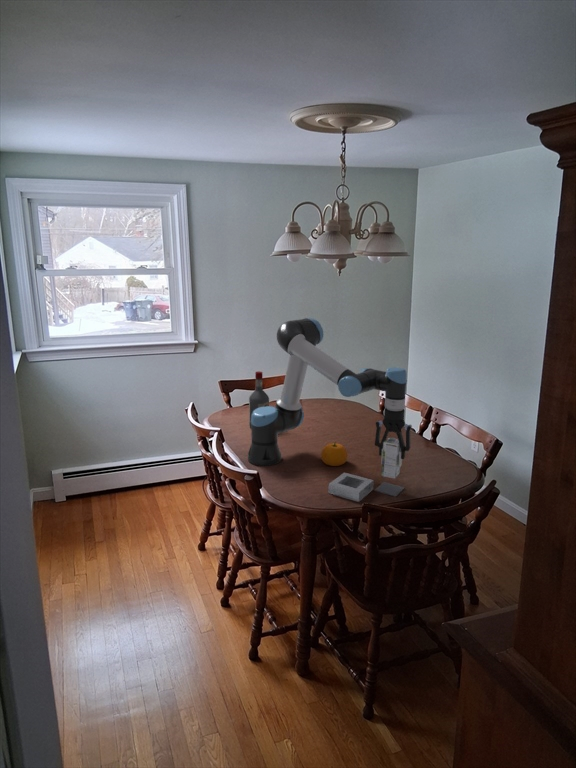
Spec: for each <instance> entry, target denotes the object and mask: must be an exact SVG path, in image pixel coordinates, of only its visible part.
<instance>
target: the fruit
mask: <svg viewBox="0 0 576 768" xmlns="http://www.w3.org/2000/svg"><path fill="white" fill-rule="evenodd" d="M347 451H348V450H347V449H346V448H345V447H344V446H343V445H342V444H340V443H336V441H334V442H333V443H328V444H326V445H325V446H324V447H323V449H322V450H321V453H320V456H321V460H322V462H323V463H324V464H325V465H327V466H332V467H339V466H341V465H343V464H345V463H346V461H347V460H348V457H349V455H348V452H347Z"/></svg>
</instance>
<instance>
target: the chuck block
mask: <svg viewBox="0 0 576 768" xmlns="http://www.w3.org/2000/svg"><path fill="white" fill-rule="evenodd" d="M374 482H375V481H374V479H370V478H366V477H363V476H359V475H356V474H355V475H354V474H351V473H347V472H343V473H341V474H340V475H339V476H338V477H336V478H334V479H333V480H331V482H329V483H328V494H329V495H332V494H333V496H337V497H339V498H344V499H347V500H350V501H353V502H356V503H357V502H358V503H360V501H362V500H363V499H364V498H365V497H366V496H368V494H369V493H371V492H372V491H373V490H374Z"/></svg>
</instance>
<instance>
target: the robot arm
mask: <svg viewBox="0 0 576 768" xmlns="http://www.w3.org/2000/svg"><path fill="white" fill-rule="evenodd" d="M323 339H324V329H323V327H322V325H321V323H320V322H319V321H318V320H316V319H314V318H311V317H310V318H306V317H305V318H302V319H294V320H288V321H287V320H286V321H285V322H283V323H282V324H281V325H280V326H279V327H278V329H277V332H276V341H277V343H278V345H279V347H280V348H281V349H282V350H283V351H284V352H286V353H287V354H288V355H289V359H288V362H287V368H286V372H285V377H284V381H283V387H282V391H281V395H280V397H279V398H278V399H277V400H276V403H275V407H274V406H273V405H272V406H270V405H269V406H266V407H260V408H257V409H255V410H254V411H253V412H252V416H251V428H250V429H251V435H250V436H251V443H250V447H249V449H248V452H247V461H248V463H251V464H253V465H255V466H262V467H263V466H266V467H267V466H272V465H277V464H279V463H280V462H281V461H282V453H281V450H280V447H279V444H278V443H279V442H278V435H279V434H282V433H285V432H288V431H290V430H291V431H292V430H295V429H296V428H298V427H299V426H301V425H302V424H303V422H304V417H305V413H304V409H303V407H302V403H301V402H300V399H301V395H302V391H303V387H304V382H305V379H306V378H305V377H306V375H307V370H308V366H310V367H311V368H313V369H314V370H315V371H316V372H318V373H320V374H321V375H322V376H324V377H325V378H326V379H328V380H329V381H330V382H332V383H334V384H335V385H337V388H338V391H339V393H340V395H342V396H344V397H345V398H350V397H356V396H358V395H361V394H364V393H366V392H370V391H373V390H375V391H376V390H377V391H380V392H385V395H384V396H385V397H384V412H383V420H379V419H378V420H376V422H375V426H376V427H375V428H376V431H375V437H374V447H378V455H379V456H380V458H381V459H380V460H381V461H380V465H381V466H382V459H383V443H384V441H385V440H387V439H388V435H389V433H391V432H392V433H395V434H396V436H397V439H398V440H399V444H400V448H401V449H400V451H399V463H398V467H400V468H401V467H402V465H403V464H402V463H403V460H404V459H405V458H406V451H407V452H409V450H410V449H411V430H412V427H413V426H412V424H408V423H406V422H405V412H406V411H405V408H406V407H405V406H406V390H407V381H408V380H407V377H408V376H407V370H406V369H405V368H402V367H394V366H393V367H388V368H387V369H386V371H384V370H378V369H374V368H369V367H365V368H363V367H362V368H361V369H360V370H359V372H358V373H355V372H354V371H352V369H349V368H348V367H346V366H345V365H343V364H342V363H341V362H339V361H337V360H336V359H334V358H333V357H332V356H330V355H329V354H327V353H326V352H324V351H323V350H321V349H320V348H319V347H317V346H318V344H320V343H321V342H322V341H323ZM382 426H384V428H385V431H384V433H383V436H382V438H381V430H382ZM403 428H404V430H405V440H404V437H403V433H402V429H403ZM380 439H381V440H380Z"/></svg>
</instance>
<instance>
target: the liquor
mask: <svg viewBox="0 0 576 768" xmlns="http://www.w3.org/2000/svg"><path fill="white" fill-rule="evenodd" d="M254 374H255V378H254V379H255V389H254V390H253V392H252V393H251V394H250V395H249V397H248V402H249V403H248V409H249V410H248V413H249V417H248V418H249V422H248V423H249V425H248V426H249V427H250V428H249V429H251V416H252V412H253V411H254V410H255V409H257V408H260V407H266V406H270V397H269V395H268V394H267V393H266V392H265V391H264V389H263V376H264V375H263V371H255V373H254Z"/></svg>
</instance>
